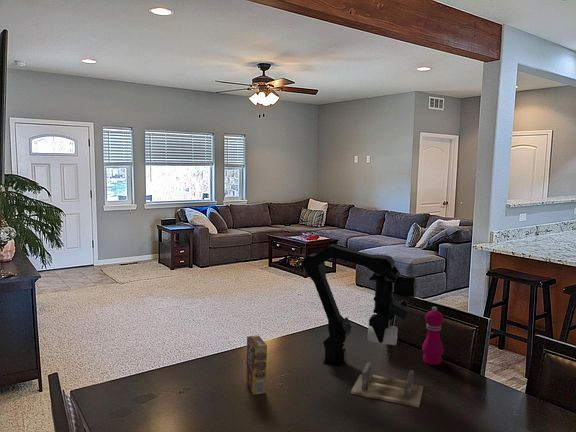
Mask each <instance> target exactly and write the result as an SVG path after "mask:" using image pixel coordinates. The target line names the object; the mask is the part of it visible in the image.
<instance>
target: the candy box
mask: <svg viewBox="0 0 576 432" xmlns="http://www.w3.org/2000/svg"><path fill="white" fill-rule="evenodd" d="M267 355H268V345H267V344H266V342H265V341H264V340H263V339H262V337H261V336H260V335H256V334H255V335H249V336H247V337H246V371H245V372H246V378H245V379H246V380H245V381H246V382H245V383H246V384H247V386H248V388H249V389H250V392H251V393H252V395H253V396H257V395H264V394H266V393H267V361H268V356H267Z"/></svg>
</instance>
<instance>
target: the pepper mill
mask: <svg viewBox="0 0 576 432" xmlns="http://www.w3.org/2000/svg"><path fill="white" fill-rule="evenodd" d="M424 319H425V322H426V329H427V333H426V334H427V335H426V338H425V339H424V341H423V344H422V347H421V350H422V352H423V355H422V361H423V362H424V363H425V364H427V365H431V366H439V365H441V364H442V359H443V358H442V355H444V346H443V343H442V341H441V337H440V331H441V330H442V323H443V322H444V315H443V314H442V313H441V312H440V311H438V308H437V307H436V306H432V307H431V310H428V311H427V312H426V313H425V318H424Z"/></svg>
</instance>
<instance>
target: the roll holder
mask: <svg viewBox="0 0 576 432" xmlns="http://www.w3.org/2000/svg"><path fill="white" fill-rule="evenodd" d="M361 373H362V374H359V376H358V377H357V379H356V380H355V383H354V384H353V387H352V389H351V390H350V394H351V395H357V396H361V397H366V398H370V399H377V400H380V401H386V402H391V403H396V404H400V405H405V406H411V407H414V408H415V407H416V408H420V404H421V401H422V396H423V391H424V385H419V384H414V379H415V378H414V373H415V370H414V369H409V371H408V375H407V378H406V380H403V379H400V378H398V379H397V378H392V377H387V376H382V375H376V374H371V373H372V363H371V362H367V363H366V364H365V366H364V368H363V370H362V372H361Z"/></svg>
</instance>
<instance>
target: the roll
mask: <svg viewBox="0 0 576 432" xmlns="http://www.w3.org/2000/svg"><path fill="white" fill-rule="evenodd" d="M366 336H367V337H366V338H367V342H370V343H375V344H377V343H378V344H380V343H379V341H378V339H377V336H376V334H375V332H374V329H373V327H372V326H369V325H368V328H367V335H366ZM397 341H398V326H394V325H390V326H389V328H386V329H385V334H384V338H383V342H382V343H381V344H383V345H391V346H397Z"/></svg>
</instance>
